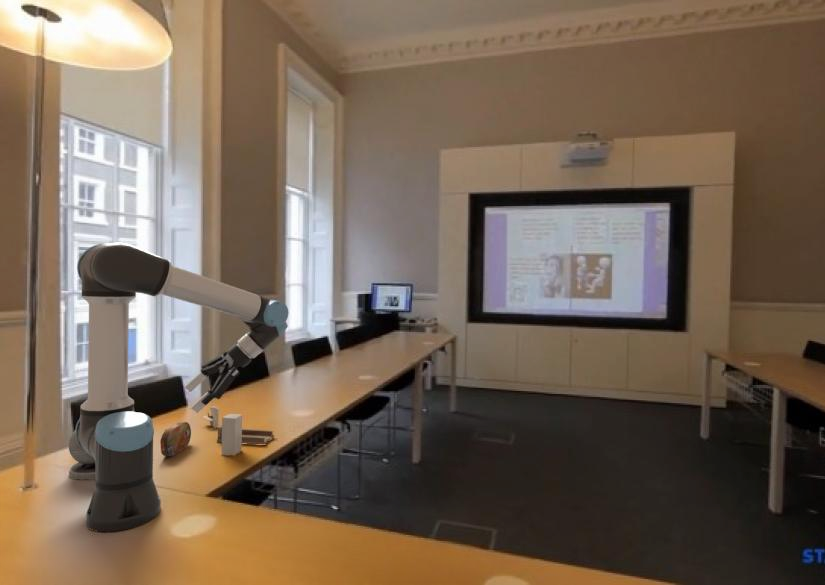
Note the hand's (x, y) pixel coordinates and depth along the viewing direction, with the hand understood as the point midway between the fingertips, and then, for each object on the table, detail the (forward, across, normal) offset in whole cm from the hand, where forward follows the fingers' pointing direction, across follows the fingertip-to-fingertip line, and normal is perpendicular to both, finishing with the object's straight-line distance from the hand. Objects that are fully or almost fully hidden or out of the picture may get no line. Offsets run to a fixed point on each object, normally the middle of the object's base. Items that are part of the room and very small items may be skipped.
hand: (190, 399), depth 147 cm
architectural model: (+10, +25, -28) cm, 39 cm away
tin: (+17, +5, -13) cm, 22 cm away
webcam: (+31, -1, +3) cm, 31 cm away
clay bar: (+4, -5, -22) cm, 23 cm away
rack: (+1, +5, -28) cm, 29 cm away
